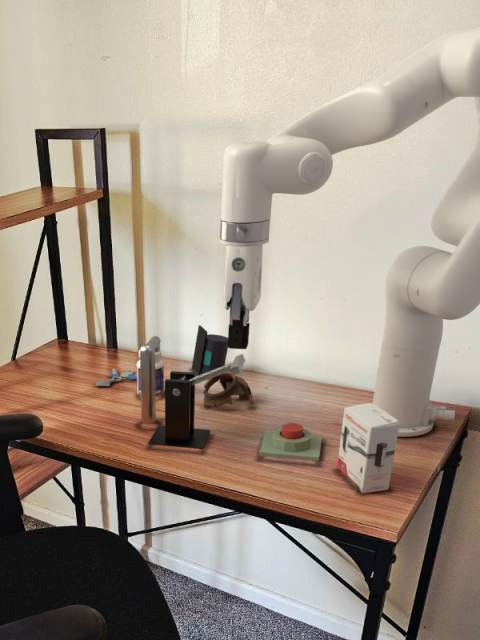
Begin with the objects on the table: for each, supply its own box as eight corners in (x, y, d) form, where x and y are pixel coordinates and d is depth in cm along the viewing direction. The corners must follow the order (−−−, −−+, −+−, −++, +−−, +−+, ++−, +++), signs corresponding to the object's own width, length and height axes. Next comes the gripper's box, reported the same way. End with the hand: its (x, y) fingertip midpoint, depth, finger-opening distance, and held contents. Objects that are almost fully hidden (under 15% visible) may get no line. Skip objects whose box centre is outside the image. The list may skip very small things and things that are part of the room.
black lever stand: (210, 435, 133) (212, 370, 127) (202, 454, 127) (204, 386, 120) (158, 431, 136) (158, 367, 130) (148, 449, 130) (147, 382, 123)
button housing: (321, 443, 128) (323, 425, 126) (318, 466, 121) (320, 447, 119) (264, 438, 131) (266, 421, 129) (258, 460, 123) (259, 442, 122)
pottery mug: (259, 416, 140) (243, 387, 135) (215, 434, 144) (198, 406, 139) (253, 380, 149) (238, 351, 144) (212, 398, 152) (195, 370, 148)
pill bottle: (168, 397, 150) (168, 352, 145) (144, 402, 148) (143, 357, 143) (156, 389, 155) (156, 344, 150) (132, 393, 153) (131, 349, 148)
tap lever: (246, 363, 123) (241, 350, 122) (241, 375, 118) (236, 362, 117) (179, 388, 129) (174, 377, 128) (172, 401, 125) (166, 389, 124)
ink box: (334, 470, 119) (343, 405, 113) (362, 466, 120) (372, 401, 113) (360, 494, 112) (371, 426, 106) (389, 490, 112) (402, 421, 106)
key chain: (99, 389, 156) (99, 386, 156) (82, 379, 162) (82, 375, 162) (153, 376, 161) (153, 373, 161) (135, 366, 168) (135, 363, 167)
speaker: (189, 377, 159) (195, 331, 154) (191, 369, 164) (196, 324, 159) (223, 380, 158) (230, 334, 153) (224, 373, 163) (230, 328, 158)
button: (303, 432, 125) (304, 423, 124) (301, 441, 122) (302, 432, 121) (282, 431, 126) (283, 422, 125) (280, 439, 123) (281, 430, 122)
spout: (167, 412, 144) (167, 333, 135) (156, 431, 136) (156, 348, 128) (146, 410, 145) (145, 332, 136) (134, 429, 137) (132, 347, 129)
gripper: (263, 241, 102) (254, 363, 112) (274, 223, 114) (265, 335, 124) (211, 240, 105) (207, 360, 114) (228, 223, 117) (222, 333, 126)
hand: (237, 347), depth 119 cm, fingers closed
